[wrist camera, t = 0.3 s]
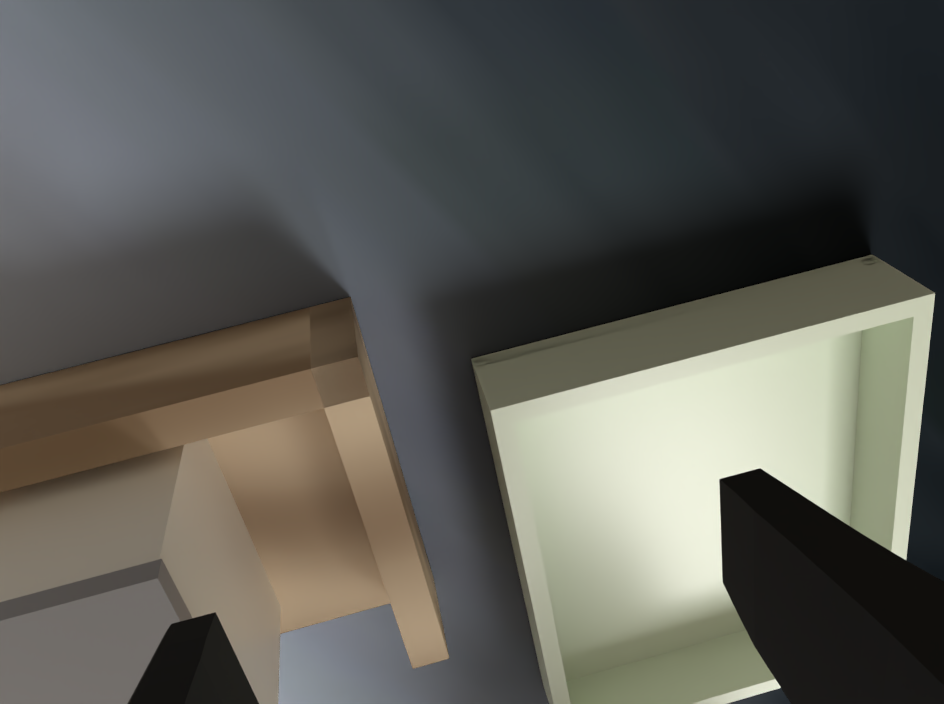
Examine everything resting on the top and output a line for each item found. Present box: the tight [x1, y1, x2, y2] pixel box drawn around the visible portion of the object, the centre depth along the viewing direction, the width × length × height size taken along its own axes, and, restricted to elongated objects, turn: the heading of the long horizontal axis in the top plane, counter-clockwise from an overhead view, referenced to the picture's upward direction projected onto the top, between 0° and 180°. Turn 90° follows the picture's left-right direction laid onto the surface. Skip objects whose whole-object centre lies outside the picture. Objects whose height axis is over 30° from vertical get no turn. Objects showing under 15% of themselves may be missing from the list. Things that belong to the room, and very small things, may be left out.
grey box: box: [0, 439, 281, 704], centre depth 19 cm, size 8×5×6 cm, turn 11°
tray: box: [471, 255, 935, 704], centre depth 24 cm, size 13×11×2 cm
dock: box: [0, 297, 449, 669], centre depth 20 cm, size 10×13×3 cm
